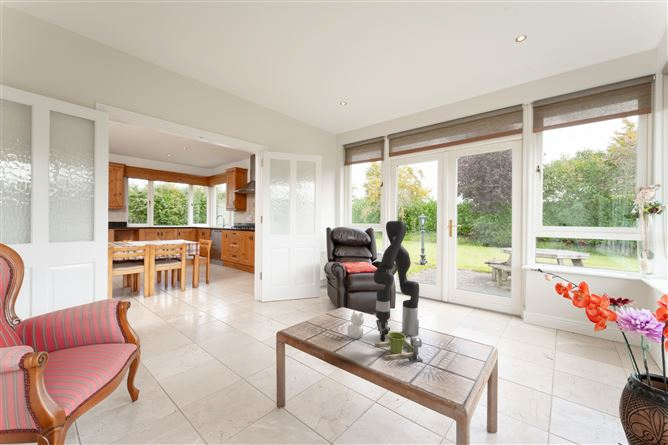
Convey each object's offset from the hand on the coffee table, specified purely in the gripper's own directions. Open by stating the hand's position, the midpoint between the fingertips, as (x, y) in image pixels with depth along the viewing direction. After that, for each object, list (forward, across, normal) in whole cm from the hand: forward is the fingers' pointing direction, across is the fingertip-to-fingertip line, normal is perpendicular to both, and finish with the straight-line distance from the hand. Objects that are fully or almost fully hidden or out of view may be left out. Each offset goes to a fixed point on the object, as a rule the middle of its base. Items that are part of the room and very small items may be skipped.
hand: (382, 341), depth 142 cm
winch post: (+6, -10, -12) cm, 17 cm away
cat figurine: (+6, +21, +8) cm, 24 cm away
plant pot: (+6, 0, -8) cm, 10 cm away
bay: (+6, 0, -8) cm, 10 cm away
